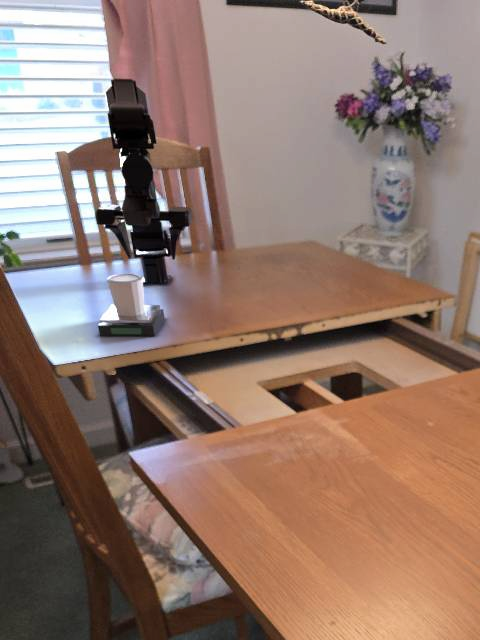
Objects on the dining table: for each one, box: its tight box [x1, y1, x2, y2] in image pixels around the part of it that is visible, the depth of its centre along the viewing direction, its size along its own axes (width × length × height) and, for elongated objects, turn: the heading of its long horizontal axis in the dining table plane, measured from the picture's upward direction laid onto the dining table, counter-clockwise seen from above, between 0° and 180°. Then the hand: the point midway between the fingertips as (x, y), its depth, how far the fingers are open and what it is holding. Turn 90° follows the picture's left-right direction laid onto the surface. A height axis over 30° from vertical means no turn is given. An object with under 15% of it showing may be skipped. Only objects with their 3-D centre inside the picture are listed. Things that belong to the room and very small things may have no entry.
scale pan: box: [99, 304, 161, 323], centre depth 148 cm, size 10×10×1 cm
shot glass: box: [106, 273, 146, 316], centre depth 146 cm, size 7×7×7 cm
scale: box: [97, 308, 166, 337], centre depth 149 cm, size 11×11×3 cm
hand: (152, 258), depth 152 cm, fingers open, 9 cm apart
